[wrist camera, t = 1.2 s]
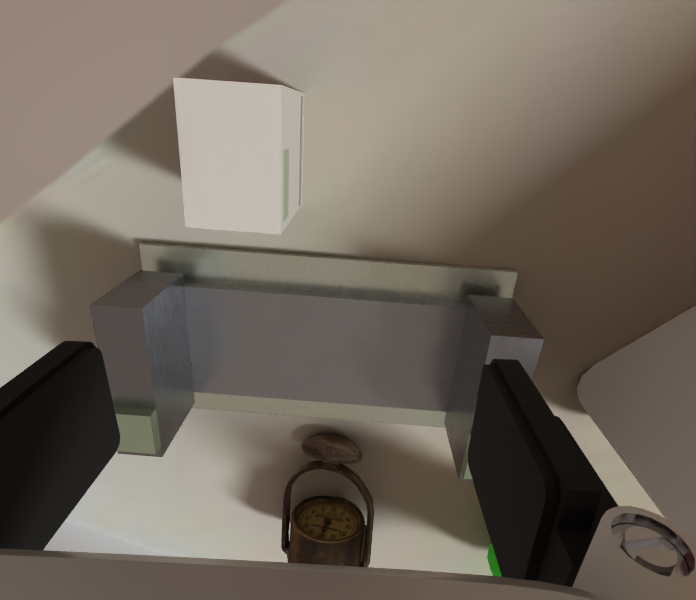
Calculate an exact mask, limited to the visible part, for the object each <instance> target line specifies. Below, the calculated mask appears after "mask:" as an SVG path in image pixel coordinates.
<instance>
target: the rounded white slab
mask: <svg viewBox="0 0 696 600" xmlns="http://www.w3.org/2000/svg"><path fill="white" fill-rule="evenodd" d="M576 391H577V395H578V398H579V402H580V404H581V405H582V406H583V408H584V409H585V410H586V412H587V413H588V414H589V416H590V417H591V418H592V420H593V421H594V423H595V424H596V425H597V427H598V428H599V429H600V431H601V432H602V433H603V435H604V436H605V437H606V439H607V440H608V441H609V443H610V444H611V445H612V447H613V448H614V449H615V451H616V452H617V454H618V455H619V456H620V458H621V459H622V460H623V462H624V463H625V464H626V466H627V467H628V468H629V470H630V471H631V472H632V474H633V475H634V476H635V478H636V479H637V481H638V482H639V483H640V485H641V486H642V487H643V489H644V490H645V491H646V493H647V494H648V495H649V497H650V498H651V499H652V501H653V502H654V503H655V505H656V506H657V507H658V509H659V510H660V512H661V513H662V514H663V516H664V517H665V518H666V520H668V521H670V522H671V523H673V524H675V525H676V526H677V527H678V528H680V529H681V530H682V531H683V532H685V533H686V534H687V535H688V536H689V537H690V538H691V539H692V540H693V541H694V543H695V544H696V305H695V306H693V307H691V308H690V309H688V310H686V311H685V312H683V313H681V314H680V315H678V316H676V317H674V318H673V319H671V320H669V321H668V322H666V323H664V324H662V325H661V326H659V327H657V328H656V329H654V330H652V331H651V332H649V333H647V334H645V335H644V336H642V337H640V338H639V339H637V340H635V341H633V342H632V343H630V344H628V345H627V346H625V347H623V348H621V349H620V350H618V351H616V352H615V353H613V354H611V355H610V356H608V357H606V358H604V359H603V360H601V361H599V362H598V363H596V364H594V365H593V366H592V367H591V368H590V369H589V370H588V371H586V372H585V373H584V374H583V375H582V377H581V379H580V381H579V384H578V386H577V389H576Z"/></svg>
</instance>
